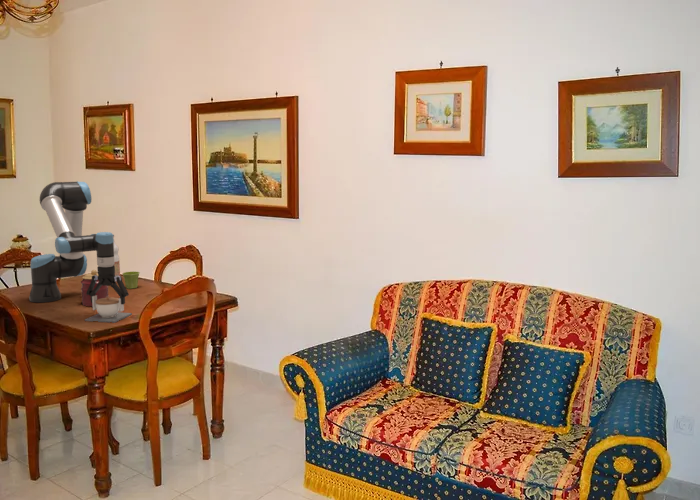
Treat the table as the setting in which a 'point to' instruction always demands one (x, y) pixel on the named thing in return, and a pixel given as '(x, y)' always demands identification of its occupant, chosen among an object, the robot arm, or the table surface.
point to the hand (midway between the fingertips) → (108, 310)
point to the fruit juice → (116, 260)
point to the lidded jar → (107, 306)
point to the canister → (100, 293)
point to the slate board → (112, 319)
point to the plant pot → (131, 279)
